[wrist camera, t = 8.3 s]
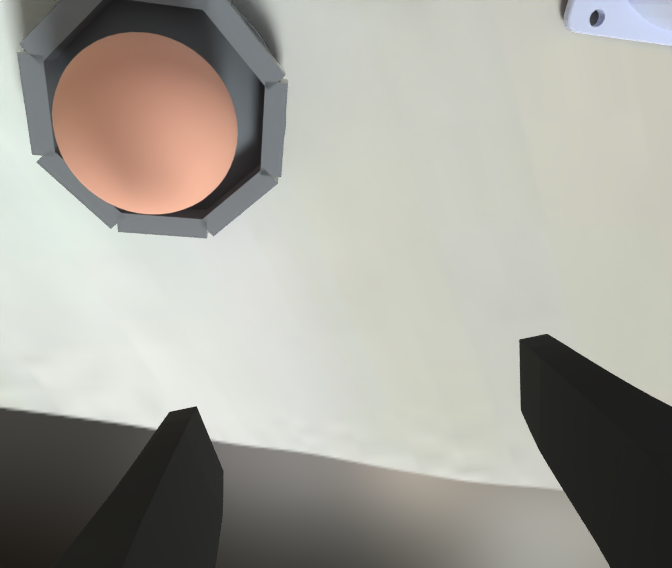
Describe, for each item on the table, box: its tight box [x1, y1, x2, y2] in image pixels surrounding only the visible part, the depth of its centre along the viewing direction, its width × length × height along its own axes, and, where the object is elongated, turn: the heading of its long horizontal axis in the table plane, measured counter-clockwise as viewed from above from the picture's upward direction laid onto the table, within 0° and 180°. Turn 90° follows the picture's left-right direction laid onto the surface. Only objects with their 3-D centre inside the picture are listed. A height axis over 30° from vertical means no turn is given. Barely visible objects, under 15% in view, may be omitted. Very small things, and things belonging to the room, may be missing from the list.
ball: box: [52, 32, 238, 214], centre depth 15 cm, size 5×5×5 cm
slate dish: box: [17, 0, 288, 238], centre depth 17 cm, size 8×8×2 cm
